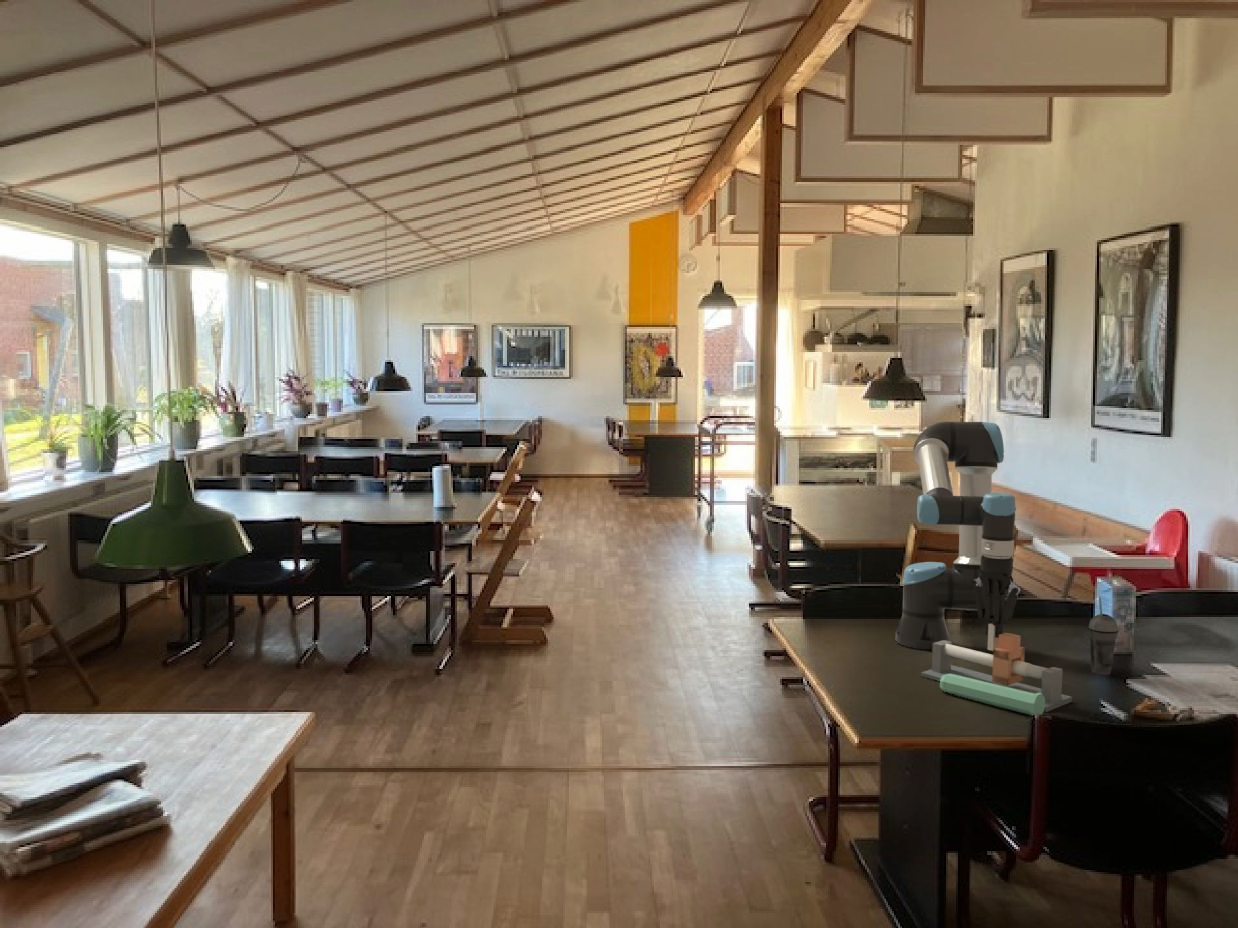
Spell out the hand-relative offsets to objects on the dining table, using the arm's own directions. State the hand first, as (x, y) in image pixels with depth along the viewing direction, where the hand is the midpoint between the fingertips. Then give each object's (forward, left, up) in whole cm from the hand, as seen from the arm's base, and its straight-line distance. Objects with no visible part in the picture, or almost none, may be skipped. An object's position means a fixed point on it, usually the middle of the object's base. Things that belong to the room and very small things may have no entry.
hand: (993, 649), depth 252 cm
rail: (0, 0, -10) cm, 10 cm away
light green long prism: (+5, -10, -11) cm, 16 cm away
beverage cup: (+10, +35, -10) cm, 38 cm away
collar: (+4, 0, -7) cm, 8 cm away
